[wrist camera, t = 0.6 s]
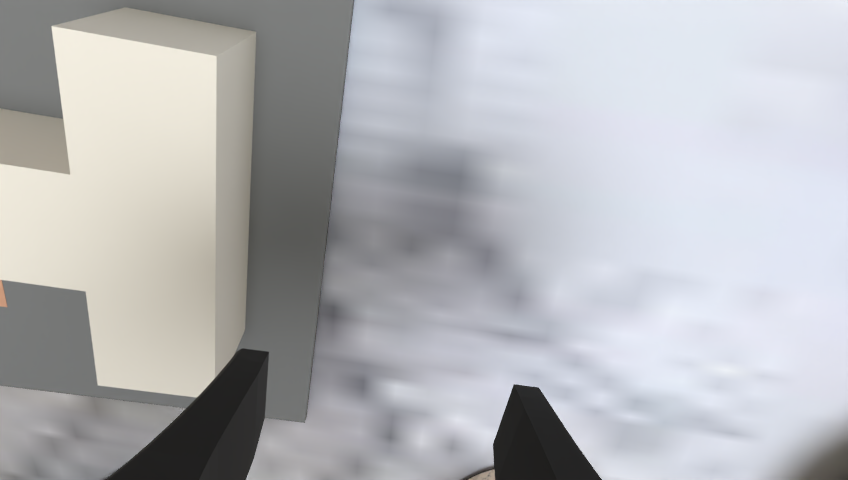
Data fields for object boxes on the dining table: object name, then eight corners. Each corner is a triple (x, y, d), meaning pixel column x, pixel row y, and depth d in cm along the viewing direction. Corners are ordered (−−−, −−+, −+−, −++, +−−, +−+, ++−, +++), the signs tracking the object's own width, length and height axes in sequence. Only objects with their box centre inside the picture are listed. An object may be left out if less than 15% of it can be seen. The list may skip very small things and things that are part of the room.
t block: (256, 31, 18) (216, 56, 14) (245, 329, 23) (214, 399, 20) (-155, -46, 16) (-310, -40, 13) (-62, 288, 22) (-152, 354, 19)
